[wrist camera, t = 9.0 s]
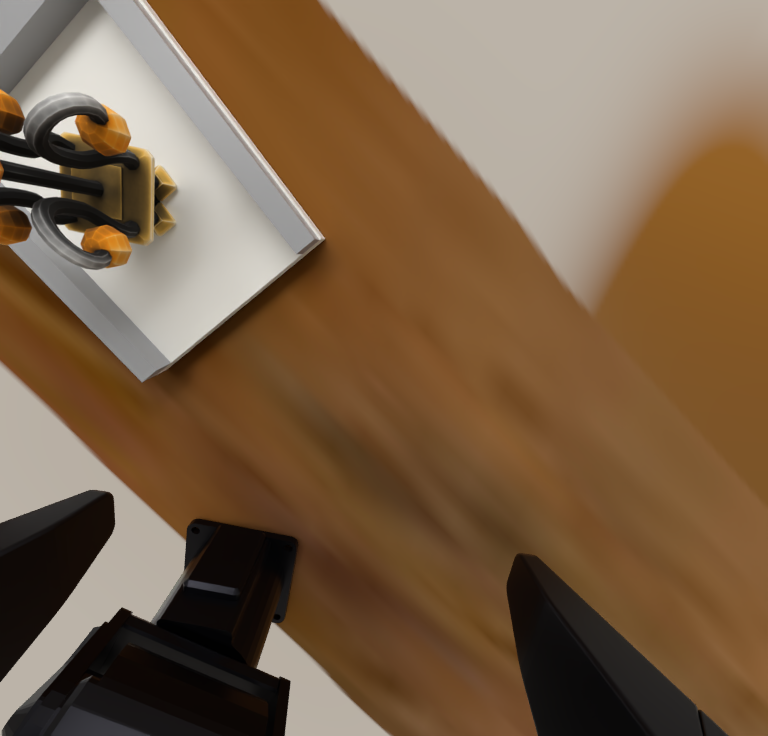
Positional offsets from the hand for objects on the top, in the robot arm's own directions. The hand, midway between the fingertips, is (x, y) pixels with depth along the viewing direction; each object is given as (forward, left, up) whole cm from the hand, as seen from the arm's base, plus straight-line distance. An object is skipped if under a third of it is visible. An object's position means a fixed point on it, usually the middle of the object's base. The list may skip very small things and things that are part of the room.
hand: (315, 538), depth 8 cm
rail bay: (+6, +11, -12) cm, 18 cm away
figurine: (+6, +11, -11) cm, 17 cm away
